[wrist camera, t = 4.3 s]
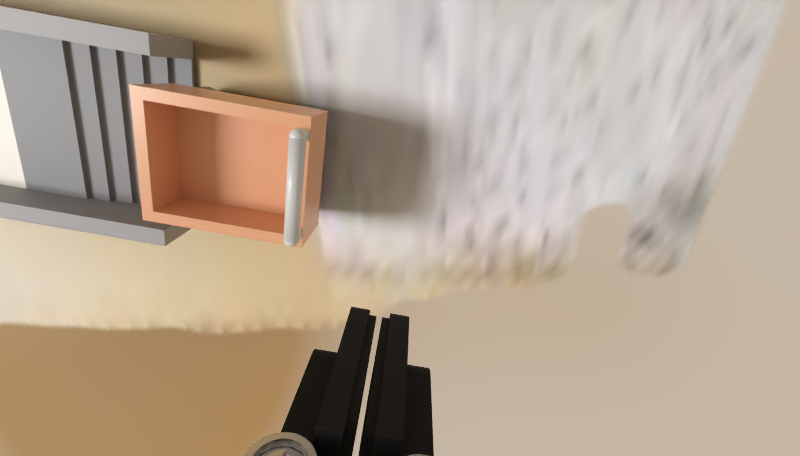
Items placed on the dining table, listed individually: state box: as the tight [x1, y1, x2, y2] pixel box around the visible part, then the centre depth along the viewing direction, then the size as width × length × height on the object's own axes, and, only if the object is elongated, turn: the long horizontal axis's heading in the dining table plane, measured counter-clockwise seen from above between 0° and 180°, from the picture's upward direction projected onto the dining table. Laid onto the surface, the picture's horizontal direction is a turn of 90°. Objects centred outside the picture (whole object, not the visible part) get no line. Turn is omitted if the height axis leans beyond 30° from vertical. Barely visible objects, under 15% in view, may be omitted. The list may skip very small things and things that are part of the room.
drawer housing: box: [0, 5, 195, 246], centre depth 25 cm, size 22×13×6 cm, turn 80°
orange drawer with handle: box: [129, 83, 328, 247], centre depth 24 cm, size 10×8×8 cm
